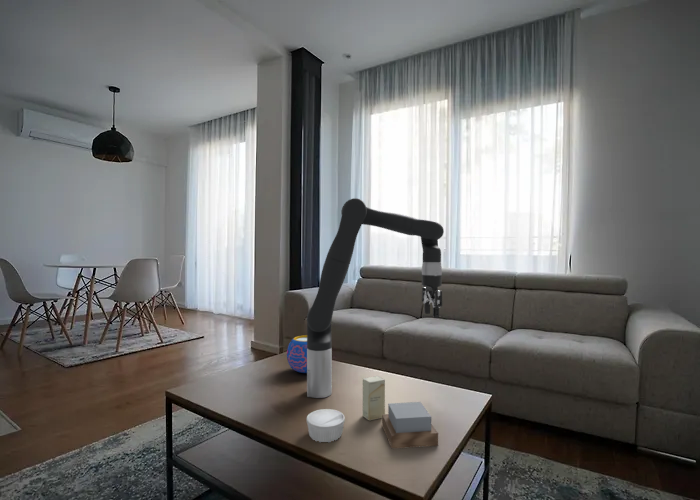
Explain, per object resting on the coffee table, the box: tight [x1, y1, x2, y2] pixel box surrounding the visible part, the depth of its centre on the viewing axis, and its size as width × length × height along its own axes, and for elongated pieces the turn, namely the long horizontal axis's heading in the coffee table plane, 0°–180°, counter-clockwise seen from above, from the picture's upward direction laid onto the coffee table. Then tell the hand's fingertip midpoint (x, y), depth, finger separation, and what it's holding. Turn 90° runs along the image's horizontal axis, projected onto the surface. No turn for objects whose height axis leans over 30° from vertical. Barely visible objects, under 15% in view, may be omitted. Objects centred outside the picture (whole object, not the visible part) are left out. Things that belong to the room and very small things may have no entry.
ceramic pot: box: [286, 334, 307, 374], centre depth 162 cm, size 18×18×15 cm
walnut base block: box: [381, 413, 439, 449], centre depth 106 cm, size 13×13×4 cm
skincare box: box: [362, 375, 386, 421], centre depth 118 cm, size 6×4×12 cm
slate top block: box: [387, 401, 432, 433], centre depth 106 cm, size 10×10×4 cm
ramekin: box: [306, 408, 346, 443], centre depth 106 cm, size 11×11×5 cm
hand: (431, 315), depth 141 cm, fingers open, 8 cm apart
